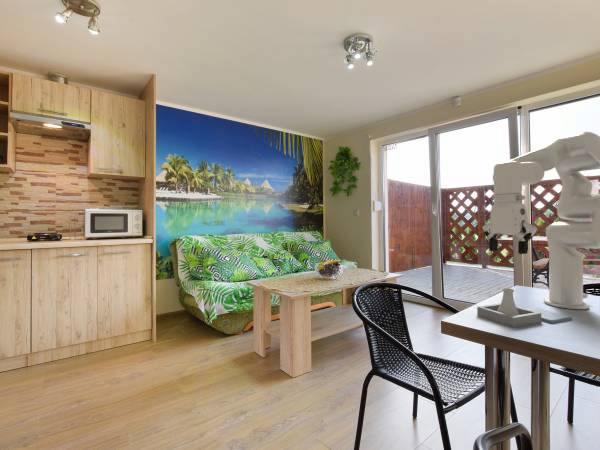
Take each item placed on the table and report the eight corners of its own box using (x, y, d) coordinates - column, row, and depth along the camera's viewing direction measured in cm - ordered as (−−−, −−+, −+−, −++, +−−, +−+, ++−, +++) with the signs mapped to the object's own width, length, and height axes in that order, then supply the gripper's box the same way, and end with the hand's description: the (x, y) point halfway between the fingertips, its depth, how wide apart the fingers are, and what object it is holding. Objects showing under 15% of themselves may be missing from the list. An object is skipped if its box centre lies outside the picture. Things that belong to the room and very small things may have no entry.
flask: (526, 323, 93) (526, 291, 93) (501, 322, 95) (500, 291, 95) (514, 316, 101) (514, 286, 100) (491, 314, 102) (491, 286, 102)
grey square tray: (503, 311, 106) (503, 302, 106) (541, 322, 94) (541, 313, 94) (477, 315, 102) (477, 306, 101) (513, 327, 90) (514, 317, 90)
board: (538, 310, 106) (538, 308, 106) (571, 319, 96) (571, 316, 96) (518, 314, 102) (518, 311, 102) (551, 323, 93) (551, 320, 93)
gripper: (544, 198, 90) (544, 254, 90) (491, 201, 106) (491, 249, 107) (527, 198, 88) (527, 255, 88) (475, 201, 104) (475, 250, 104)
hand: (507, 252), depth 97 cm, fingers open, 9 cm apart
